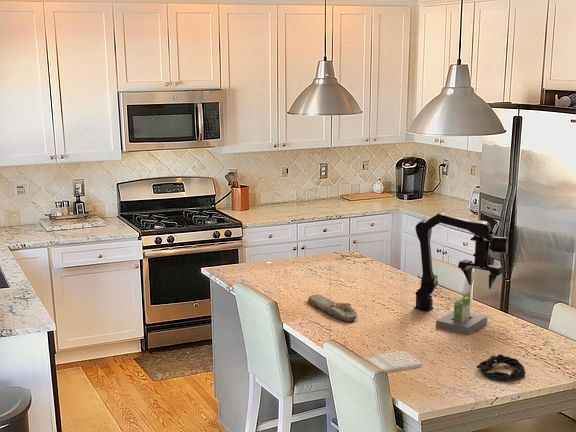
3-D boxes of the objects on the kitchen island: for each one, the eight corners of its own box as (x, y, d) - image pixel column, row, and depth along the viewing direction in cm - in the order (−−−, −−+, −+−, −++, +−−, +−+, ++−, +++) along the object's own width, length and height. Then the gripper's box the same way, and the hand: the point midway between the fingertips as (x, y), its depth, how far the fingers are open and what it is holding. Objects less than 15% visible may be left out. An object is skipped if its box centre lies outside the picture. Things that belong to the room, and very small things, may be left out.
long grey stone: (321, 301, 342) (302, 305, 337) (320, 290, 341) (301, 294, 336) (363, 319, 311) (344, 324, 307) (363, 307, 310) (343, 312, 306)
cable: (506, 362, 268) (507, 350, 267) (537, 375, 256) (537, 363, 255) (471, 371, 260) (472, 359, 259) (501, 385, 248) (501, 373, 247)
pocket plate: (435, 327, 303) (436, 320, 303) (456, 316, 317) (456, 309, 316) (467, 335, 294) (467, 327, 294) (486, 323, 308) (487, 316, 307)
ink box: (460, 320, 309) (462, 290, 307) (469, 322, 307) (471, 291, 304) (452, 325, 304) (454, 293, 301) (461, 327, 301) (463, 295, 299)
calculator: (423, 367, 263) (423, 362, 263) (373, 375, 256) (373, 370, 256) (404, 354, 275) (404, 349, 275) (355, 361, 268) (356, 357, 268)
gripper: (511, 251, 312) (508, 286, 315) (470, 244, 324) (468, 279, 327) (499, 256, 303) (497, 292, 306) (458, 249, 315) (456, 284, 318)
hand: (480, 286), depth 315 cm, fingers open, 9 cm apart
